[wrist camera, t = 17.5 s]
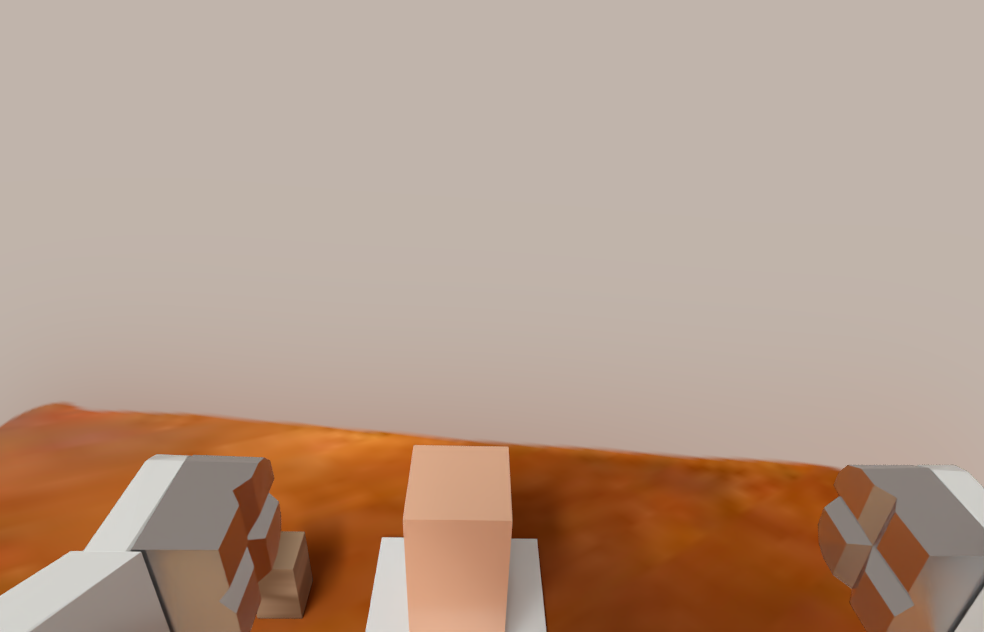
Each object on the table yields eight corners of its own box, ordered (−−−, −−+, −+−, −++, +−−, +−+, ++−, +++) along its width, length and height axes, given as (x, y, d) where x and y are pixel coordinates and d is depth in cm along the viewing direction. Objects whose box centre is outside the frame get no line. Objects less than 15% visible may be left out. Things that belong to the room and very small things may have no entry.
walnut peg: (313, 579, 44) (304, 531, 41) (302, 618, 41) (292, 569, 39) (270, 579, 44) (260, 531, 41) (257, 618, 41) (245, 569, 39)
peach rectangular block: (501, 571, 44) (508, 446, 38) (503, 651, 39) (512, 520, 33) (418, 571, 44) (413, 445, 38) (410, 651, 39) (402, 519, 33)
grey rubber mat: (536, 542, 47) (536, 538, 47) (552, 703, 37) (553, 699, 37) (382, 540, 47) (382, 537, 47) (354, 703, 36) (353, 699, 36)
